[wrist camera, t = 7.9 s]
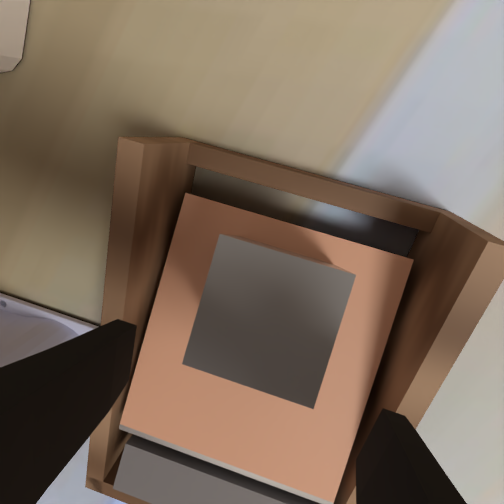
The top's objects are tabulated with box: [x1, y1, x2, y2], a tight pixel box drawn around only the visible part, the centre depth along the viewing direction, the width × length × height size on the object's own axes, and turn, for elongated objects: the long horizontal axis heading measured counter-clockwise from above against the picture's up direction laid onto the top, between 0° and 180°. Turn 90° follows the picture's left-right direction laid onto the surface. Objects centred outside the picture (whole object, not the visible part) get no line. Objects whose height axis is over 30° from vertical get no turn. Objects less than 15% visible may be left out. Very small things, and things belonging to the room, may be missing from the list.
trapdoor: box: [113, 193, 414, 504], centre depth 17 cm, size 16×11×2 cm
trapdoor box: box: [85, 137, 504, 504], centre depth 17 cm, size 19×14×6 cm
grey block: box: [182, 234, 356, 409], centre depth 13 cm, size 4×4×5 cm
